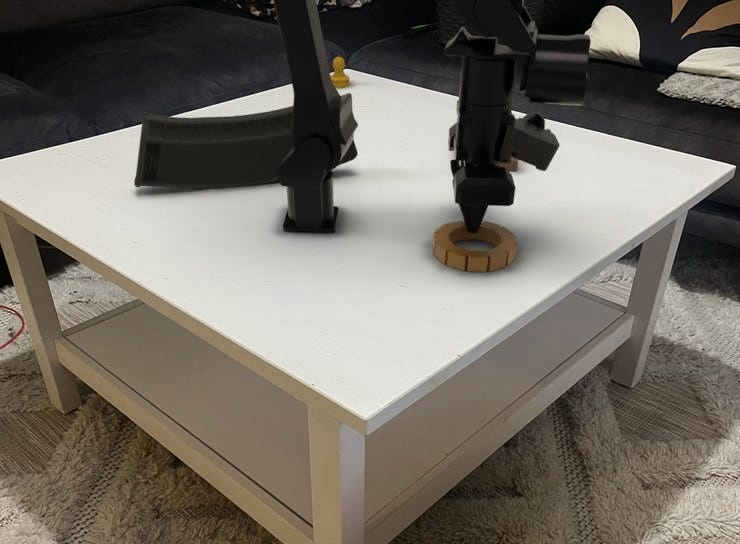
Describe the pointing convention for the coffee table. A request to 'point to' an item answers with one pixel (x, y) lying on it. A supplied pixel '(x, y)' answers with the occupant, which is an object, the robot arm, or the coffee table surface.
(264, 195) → the coffee table surface
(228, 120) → the magazine
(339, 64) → the chess piece
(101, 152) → the coffee table surface
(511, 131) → the robot arm
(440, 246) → the ring
